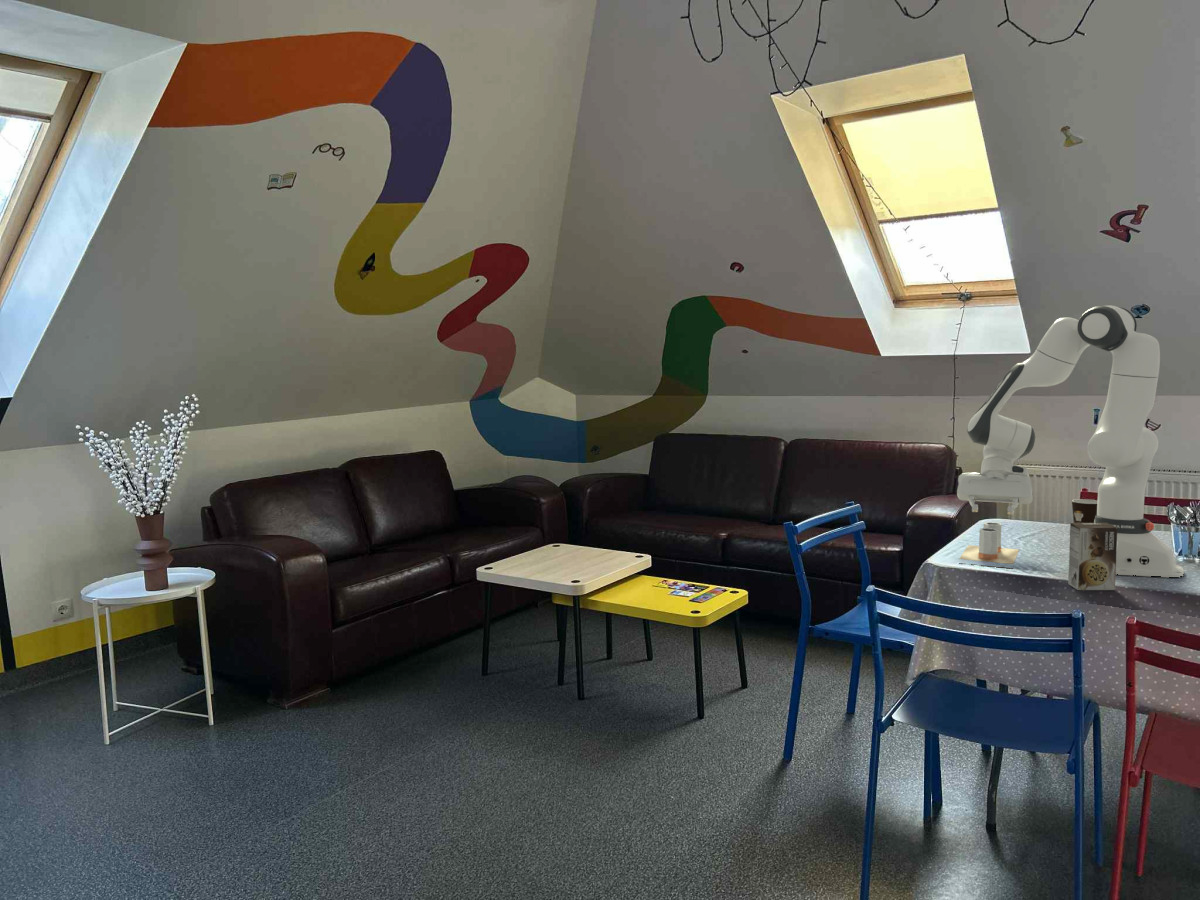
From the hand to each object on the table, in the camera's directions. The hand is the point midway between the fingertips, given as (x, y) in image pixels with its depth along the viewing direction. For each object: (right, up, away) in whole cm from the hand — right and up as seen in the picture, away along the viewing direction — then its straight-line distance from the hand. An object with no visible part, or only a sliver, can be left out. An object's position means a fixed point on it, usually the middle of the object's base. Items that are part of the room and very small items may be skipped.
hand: (992, 512), depth 261 cm
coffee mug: (+46, -9, +35) cm, 59 cm away
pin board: (-1, -14, 0) cm, 14 cm away
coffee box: (+11, -17, -32) cm, 38 cm away
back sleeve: (+2, -12, +4) cm, 12 cm away
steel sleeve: (-3, -13, -5) cm, 14 cm away
